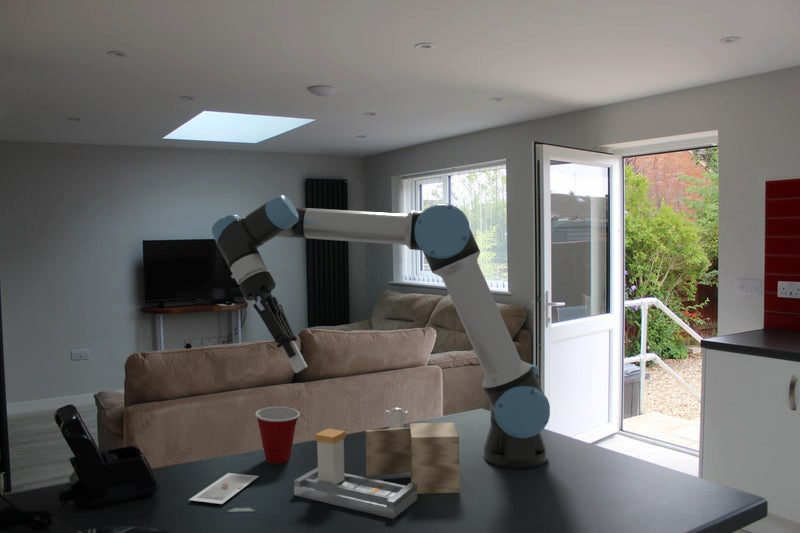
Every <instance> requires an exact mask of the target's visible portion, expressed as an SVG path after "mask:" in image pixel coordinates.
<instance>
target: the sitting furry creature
mask: <svg viewBox="0 0 800 533" xmlns="http://www.w3.org/2000/svg"><path fill="white" fill-rule="evenodd" d="M384 413H385V415H386V416H387V420H388V423H389V424H390V425H389V427H388V428H387V429H393V428H404V424H405V423H406V422H407V414H408V410H406V411H405V410H404V409H403V408H400V407H398V406H397V407H393V408H391V409H390V410H384Z"/></svg>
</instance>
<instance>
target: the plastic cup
mask: <svg viewBox="0 0 800 533" xmlns="http://www.w3.org/2000/svg"><path fill="white" fill-rule="evenodd" d="M254 414H255V417H256V419H257V422H258V423H257V424H258V427H259V432H260V438H261V442H262V443H261V444H262V449H263V452H264V458H265V461H266V463H268V464H272V465H273V464H274V465H275V464H278V465H279V464H283V463H287V462H288V461H290V458H291V456H292V455H291V454H292V446H293V443H294V438H295V437H294V436H295V430H296V425H297V421H298V418H300V415H301V413H300V411H299V410H297V409H295V408H291V407H287V406H270V407H269V406H268V407H264V408H261V409H258V410H257V411H256V412H255V413H254Z"/></svg>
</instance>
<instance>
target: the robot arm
mask: <svg viewBox="0 0 800 533" xmlns="http://www.w3.org/2000/svg"><path fill="white" fill-rule="evenodd" d="M211 233H212V236H213V238H214V241H215V243H216V246H217V248H218V249H219V251H220V252H221V255H222V257H223V259H224V260H225V262H226V264H227V266H228V268H229V270H230V272H231V273H232V274H231V276H230V277H231V279H235V281H236V283H237V285H239V290H240V292H241V294H242V296H243V298H244V299H245V300H246V301H254V302H255V303H253V305H252V307H253V308H254V309H255V310H256V312H257V313H258V315H259V317H261V320H262V322H263V324H265V327H266V328H267V330H268V332H269V333H270V335H271V336H272V338H273V339H274V342H275V343H276V344H277V345H276V347H277V348H278V349H279V348H282V350H283V353H284V354H285V356H286V358H287V360H288V362H289V364H290V366H291V367H292V368H291V369H292V370H293V372H294V373H295V374H298V373H299V372H301V371H303V370H305V369H306V368H308V364H307V362H306V361H305V359H304V356H303V355H302V353H301V351H300V349H299V347H298V346H297V343H296V341H297V340H298V337H297V336H296V335H295V334H294V332H293V329H292V327H291V325H290V323H289V321H288V318H287V315H286V314H285V312H284V307H283V306H282V304H279V302H278V299H277V298H276V296H273V295H272V291H273V290H274V289H275V288H276V284H277V283H276V282H275V280H274V278H273V276H272V274H271V272H270V271H269V269H268V267H267V264H266V262H265V261H264V259H263V257H262V255H261V253H260V251H259V249H258V248H259V247H261V246H263V245H264V244H266V243H267V242H269V241H271V240H272V239H274V238H276V237H277V238H278V237H279V238H280V237H281V238H282V237H283V238H289V239H291V238H296V239H314V240H325V241H326V240H327V241H329V240H330V241H343V242H344V241H345V242H357V243H358V242H359V243H373V244H383V245H384V244H385V245H400V246H406V247H407V248H408V249H409V250H414V251H415V250H416V251H421V252H422V253H423V255H424V258H425V260H426V261H427V264H428V267H429V268H430V270H431V272H432V274H433V275H435V276H439V277H440V278H441V279H442V281H443V283H444V286H445V288H446V290H447V292H448V295H449V296H450V299H451V301H452V304H453V306H454V308H455V310H456V313H457V315H458V317H459V319H460V321H461V324H462V327H463V328H464V330H465V333H466V335H467V337H468V340H469V342H470V344H471V346H472V348H473V350H474V353H475V355H476V357H477V360H478V362H479V364H480V367H481V369H482V371H483V373H484V378H483V382H482V384H481V385H482V387H483V391H484V393H485V395H486V397H487V399H488V402H489V404H490V426H489V428H488V433H487V434H486V435H487V436H486V439H485V442H484V445H483V458H484V459H485V460H486V461H487V462H488V463H491V464H493V465H495V466H499V467H502V468H509V469H510V468H511V469H529V468H536V467H539V466H541V465H544V464H545V463H546V462H547V458H548V457H547V448H546V445H545V442H544V438H543V434H542V431H544V429H545V427H546V426H547V424H549V423H548V422H549V420H550V416H551V415H550V414H551V405H550V402H549V399H548V398H547V396H546V395H545V394H544V391H543V390H542V387H541V385H540V383H539V378H540V373H539V372H540V371H539V367H538V366H537V365H536V364H531V363H528V362H526V361H523V360H522V359H521V357H520V355H519V353H518V350H517V348H516V345H515V344H514V341H513V339H512V337H511V334H510V332H509V330H508V328H507V326H506V324H505V321H504V319H503V316H502V314H501V311H500V309H499V308H498V304H497V303H496V301H495V299H494V297H493V294H492V292H491V289H490V287H489V285H488V283H487V281H486V278H485V276H484V273H483V270H482V269H481V267H480V264H479V263H478V261H479V260H478V259H479V257H480V253H481V250H480V247H479V246H478V243H477V240H476V238H475V236H474V235H473V234H474V233H473V232H472V229H471V228H470V222H469V220H468V218H467V216H466V214H465V213H464V211H462V210H461V209H460V208H458V207H457V206H455V205H453V204H450V203H436V204H433V205H431V206H429V207H427V208H425V209H424V210H412V209H411V211H410V212H409V213H397V212H396V213H394V212H393V213H392V212H378V211H377V212H376V211H361V210H360V211H359V210H344V209H343V210H341V209H327V208H312V207H311V208H309V207H307V208H306V207H297V206H295V205H294V204H293V203H292V201H291V200H290V199H289V198H288V197H287V196H286V195H284V194H279V195H277V196H275V197H273V198H272V199H269V200H268V201H266V202H265V203H264V204H262V205H261V206H259V207H258V208H256V209H255V210H254V211H251V212H250V213H248V214H247V215H245V216H244V217H241V216H240V215H238V214H228V215H226V216H224V217H221V218H219V219H218V220H216V221H215V223H213V225H212V227H211Z"/></svg>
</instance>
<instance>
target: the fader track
mask: <svg viewBox="0 0 800 533" xmlns="http://www.w3.org/2000/svg"><path fill="white" fill-rule="evenodd" d="M293 486H294V487H293V489H294V490H293V491H294V496H297V497H301V498H305V499H309V500H313V501H318V502H322V503H324V504H325V503H327V504H330V505H334V506H337V507H343V508H345V509H350V510H355V511H359V512H363V513H368V514H372V515H374V516H375V515H376V516H381V517H384V518H389V519H393V520H394V519H395V518H397V517H398V516H399V515H400V514H402V512H404V511H405V510H406V509H408V508H409V507H410V506H411V505H412V504H413V503H415V502H416V501H417V500H418V494H417V484H416V483H411V482H409V483H408V484H406V485H404V484H398V483H395V482H389V481H384V480H381V479H376V478H370V477H365V476H360V475H355V474H350V473H346V472H344V480H343V481H341V482H340V483H338V484H331V483H326V482H322V481H318V466H316V468H314V469H312V470H310V471H308V472H306V473H305V474H303V475H301V476H299V477H298V478H295V479H294V480H293Z"/></svg>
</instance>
